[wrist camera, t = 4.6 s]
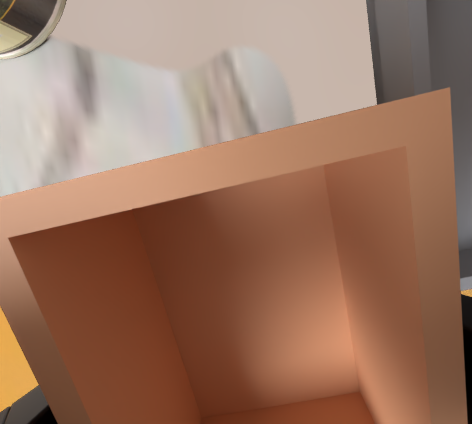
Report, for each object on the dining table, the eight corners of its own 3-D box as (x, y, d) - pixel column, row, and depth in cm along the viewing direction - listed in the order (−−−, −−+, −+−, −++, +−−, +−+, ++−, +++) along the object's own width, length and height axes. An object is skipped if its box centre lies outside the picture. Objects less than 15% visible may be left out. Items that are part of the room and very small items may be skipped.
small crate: (371, 388, 11) (476, 589, 6) (193, 418, 11) (156, 626, 7) (331, 116, 8) (450, 86, 4) (108, 171, 9) (-48, 208, 4)
